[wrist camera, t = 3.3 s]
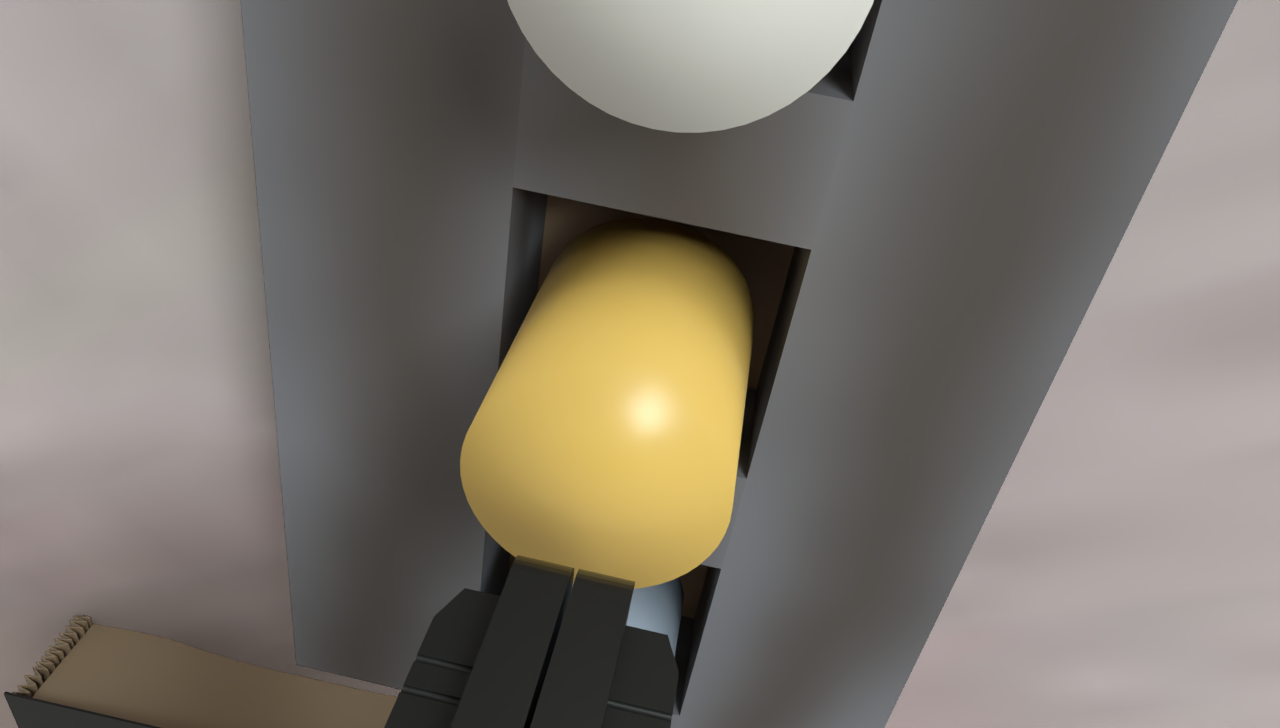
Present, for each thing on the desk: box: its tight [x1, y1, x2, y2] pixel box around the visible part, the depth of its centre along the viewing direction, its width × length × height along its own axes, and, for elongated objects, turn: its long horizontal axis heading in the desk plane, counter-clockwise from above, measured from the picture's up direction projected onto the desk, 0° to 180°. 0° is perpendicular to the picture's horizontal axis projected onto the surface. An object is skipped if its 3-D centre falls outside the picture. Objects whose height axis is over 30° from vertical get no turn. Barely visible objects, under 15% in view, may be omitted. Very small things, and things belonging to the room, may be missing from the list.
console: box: [241, 0, 1238, 728], centre depth 19 cm, size 14×23×4 cm, turn 171°
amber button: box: [460, 217, 755, 589], centre depth 16 cm, size 4×4×5 cm
